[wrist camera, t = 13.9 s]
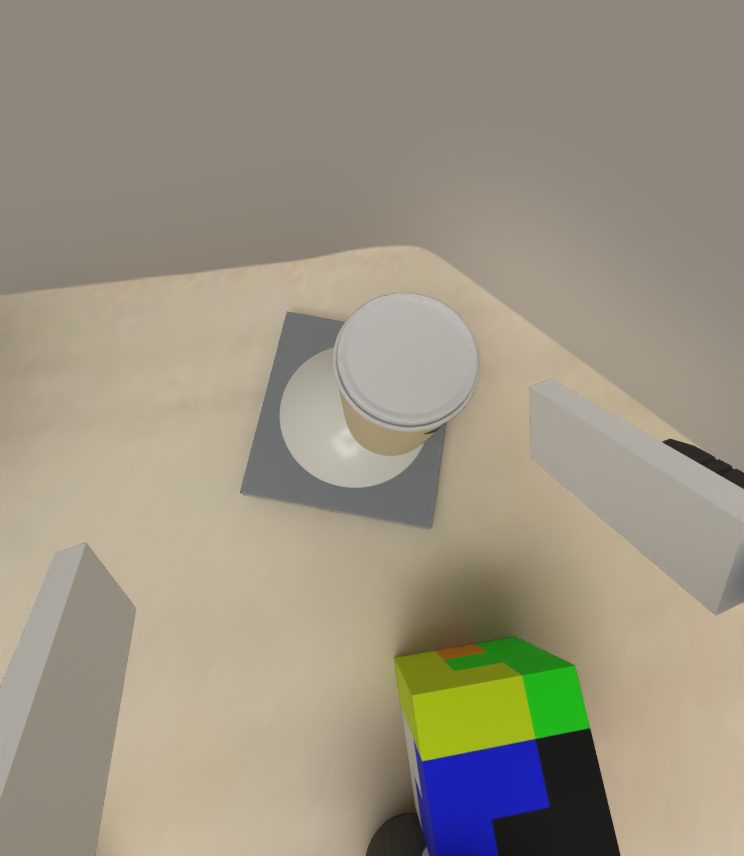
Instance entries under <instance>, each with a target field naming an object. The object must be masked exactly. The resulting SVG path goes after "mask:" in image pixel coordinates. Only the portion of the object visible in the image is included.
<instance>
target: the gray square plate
mask: <svg viewBox="0 0 744 856" xmlns="http://www.w3.org/2000/svg"><path fill="white" fill-rule="evenodd" d="M344 323H345V322H340V321H334V320H329V319H324V318H318V317H313V316H308V315H302V314H297V313H292V312H287V313H286V317H285V321H284V325H283V329H282V333H281V337H280V340H279V344H278V348H277V352H276V356H275V360H274V364H273V367H272V371H271V375H270V379H269V383H268V387H267V391H266V394H265V398H264V402H263V406H262V410H261V414H260V418H259V421H258V425H257V429H256V433H255V437H254V441H253V445H252V448H251V452H250V456H249V460H248V464H247V468H246V472H245V475H244V479H243V483H242V487H241V491H240V493H241V494H243V495H246V496H251V497H256V498H262V499H267V500H273V501H278V502H283V503H289V504H294V505H300V506H305V507H310V508H316V509H321V510H327V511H332V512H337V513H343V514H348V515H354V516H359V517H364V518H370V519H375V520H381V521H386V522H391V523H397V524H402V525H408V526H413V527H418V528H424V529H431V528H432V523H433V516H434V508H435V501H436V494H437V486H438V479H439V472H440V464H441V457H442V450H443V442H444V435H445V428H446V423H445V424H444V425H443V426H442V427H441V428H439V429H438V430H437V431H436V432H435V433H434V434H433V435H432V436H430V437H429V438H428V439H427V440H426V441H425V442H424V443H422V444H421V445H420V446H419V447H417V448H416V449H414V450H412V451H411V452H408V453H406V454H403V455H398V456H384V455H379V454H375V453H373V452H370V451H369V450H367V449H365V448H364V447H362V446H361V445H360V444H359V443H358V442H357V441H356V440H355V439H354V437H353V436H352V434H351V433H350V431H349V429H348V426H347V423H346V420H345V416H344V411H343V407H342V402H341V397H340V392H339V387H338V385H337V382H336V379H335V376H334V370H333V351H334V345H335V342H336V339H337V336H338V334H339V331H340V329H341V328H342V326H343V324H344Z"/></svg>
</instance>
